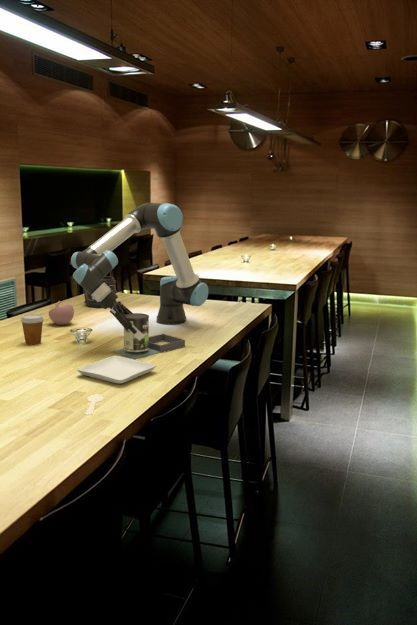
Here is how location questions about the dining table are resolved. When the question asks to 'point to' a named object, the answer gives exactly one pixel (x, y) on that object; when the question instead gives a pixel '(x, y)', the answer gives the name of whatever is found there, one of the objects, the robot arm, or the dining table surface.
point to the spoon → (93, 402)
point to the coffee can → (143, 326)
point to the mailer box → (154, 346)
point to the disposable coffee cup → (32, 328)
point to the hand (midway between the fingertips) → (143, 335)
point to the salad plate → (116, 369)
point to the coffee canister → (92, 302)
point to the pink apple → (61, 314)
